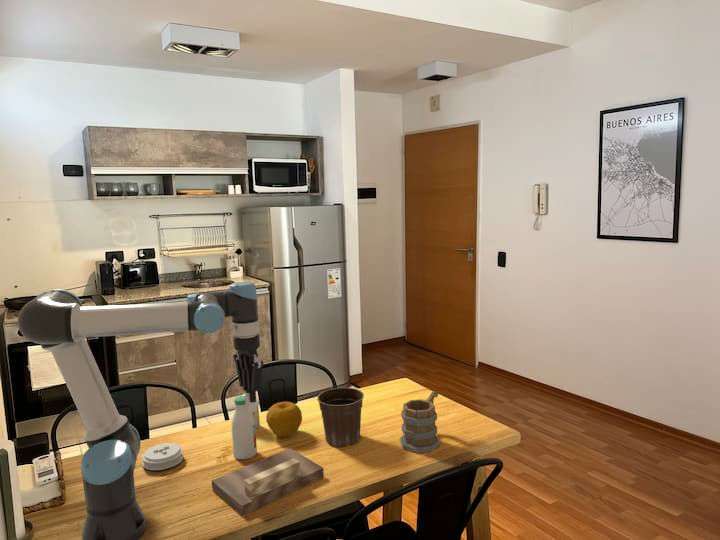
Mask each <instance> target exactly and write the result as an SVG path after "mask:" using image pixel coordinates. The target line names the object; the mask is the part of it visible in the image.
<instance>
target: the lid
mask: <svg viewBox="0 0 720 540" xmlns="http://www.w3.org/2000/svg"><path fill="white" fill-rule="evenodd" d="M183 449H184V448H183V446H182V445H179V444H177V443H173V442H165V443H158V444H155V445H153V446H151V447H149V448H147V450H146V451H145V452H143V453H142V455H141V459H142V460H141V461H142V467H143V468H144V469H146V470H147V471H148V470H149V471H163V470H167V469H169V468H172V467H175V466H177V465H179V464H180V463H181V462H182V461H183V460H184V453H183V451H184V450H183Z"/></svg>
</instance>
